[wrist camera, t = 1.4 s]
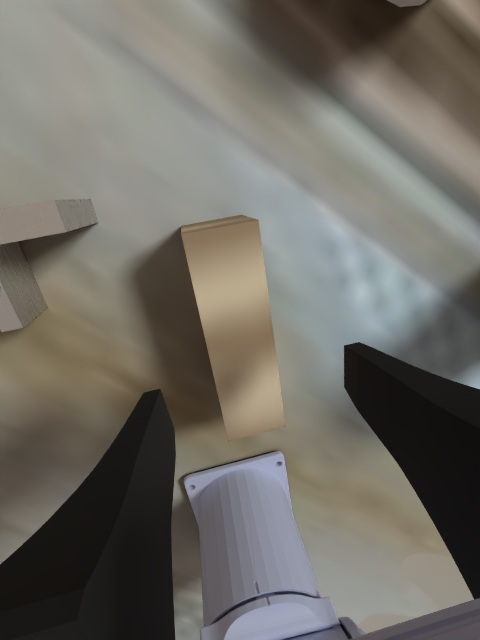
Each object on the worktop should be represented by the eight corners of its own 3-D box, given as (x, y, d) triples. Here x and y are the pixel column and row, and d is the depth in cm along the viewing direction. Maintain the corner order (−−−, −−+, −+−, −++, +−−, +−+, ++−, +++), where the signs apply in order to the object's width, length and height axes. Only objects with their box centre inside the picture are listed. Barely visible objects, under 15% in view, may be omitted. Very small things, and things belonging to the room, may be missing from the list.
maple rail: (267, 385, 23) (285, 426, 19) (220, 396, 22) (228, 441, 18) (241, 214, 18) (258, 220, 14) (181, 225, 18) (181, 234, 14)
